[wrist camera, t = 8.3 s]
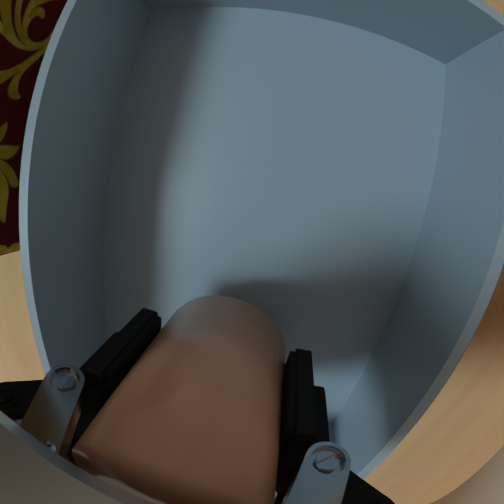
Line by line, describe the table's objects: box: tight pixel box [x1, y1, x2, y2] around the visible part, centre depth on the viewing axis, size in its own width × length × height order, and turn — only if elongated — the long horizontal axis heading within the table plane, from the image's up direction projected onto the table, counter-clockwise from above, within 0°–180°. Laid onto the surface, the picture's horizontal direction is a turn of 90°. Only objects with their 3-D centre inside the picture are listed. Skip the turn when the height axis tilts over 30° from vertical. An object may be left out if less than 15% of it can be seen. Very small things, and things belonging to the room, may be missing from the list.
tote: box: [19, 0, 504, 493], centre depth 9 cm, size 21×15×6 cm
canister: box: [72, 295, 286, 504], centre depth 7 cm, size 5×5×7 cm
